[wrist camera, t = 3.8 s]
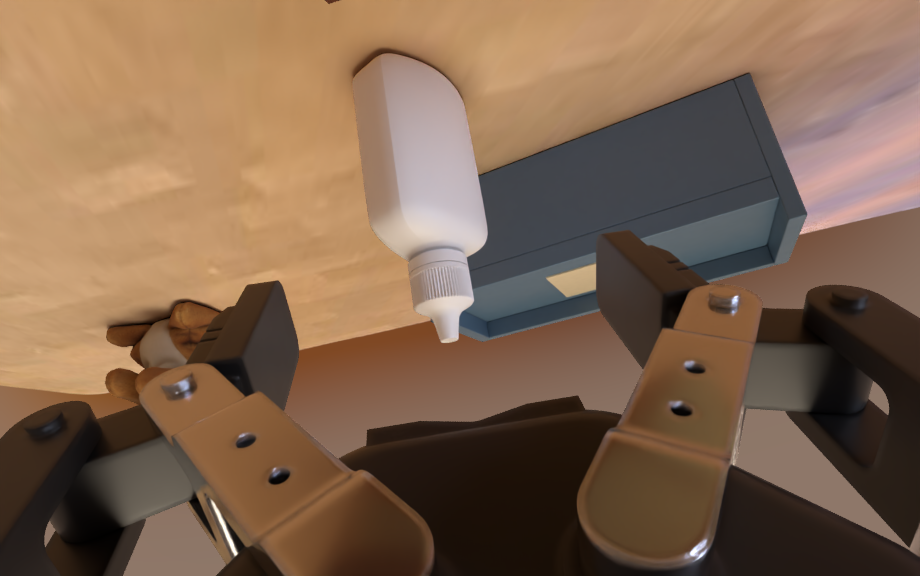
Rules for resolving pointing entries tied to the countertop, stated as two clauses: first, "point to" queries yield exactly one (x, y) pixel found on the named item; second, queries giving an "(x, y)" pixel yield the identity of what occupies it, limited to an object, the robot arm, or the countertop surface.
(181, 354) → the stuffed squirrel
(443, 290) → the eye dropper bottle
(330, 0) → the decorative slab
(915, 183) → the countertop surface
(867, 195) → the countertop surface
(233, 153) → the countertop surface
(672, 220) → the shelf
